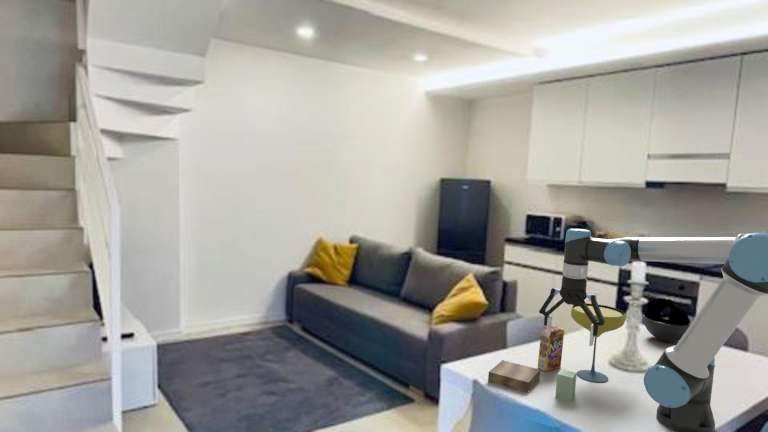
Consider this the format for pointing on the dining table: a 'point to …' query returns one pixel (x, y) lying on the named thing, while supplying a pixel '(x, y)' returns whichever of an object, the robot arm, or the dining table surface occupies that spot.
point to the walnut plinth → (514, 376)
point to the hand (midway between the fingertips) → (569, 340)
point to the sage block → (565, 385)
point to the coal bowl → (665, 320)
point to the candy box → (551, 349)
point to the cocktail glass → (612, 322)
